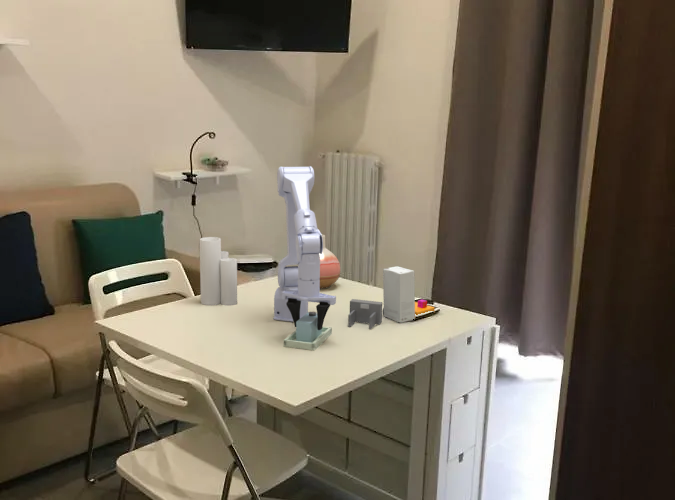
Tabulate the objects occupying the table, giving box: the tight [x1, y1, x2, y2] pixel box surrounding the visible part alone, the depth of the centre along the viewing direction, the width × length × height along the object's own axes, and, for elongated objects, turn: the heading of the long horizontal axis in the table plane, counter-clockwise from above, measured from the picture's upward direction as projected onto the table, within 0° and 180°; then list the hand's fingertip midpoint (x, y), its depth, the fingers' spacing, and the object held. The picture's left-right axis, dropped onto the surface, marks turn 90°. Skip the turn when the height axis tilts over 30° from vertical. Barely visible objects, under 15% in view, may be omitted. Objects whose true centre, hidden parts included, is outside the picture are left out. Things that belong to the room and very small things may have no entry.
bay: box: [347, 298, 383, 330], centre depth 217 cm, size 9×8×6 cm
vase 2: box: [319, 234, 342, 290], centre depth 256 cm, size 14×14×18 cm
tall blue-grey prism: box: [295, 311, 322, 343], centre depth 204 cm, size 4×9×6 cm, turn 162°
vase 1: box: [199, 236, 238, 306], centre depth 235 cm, size 11×7×20 cm, turn 93°
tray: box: [283, 326, 333, 351], centre depth 204 cm, size 8×14×2 cm, turn 162°
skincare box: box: [382, 265, 416, 323], centre depth 223 cm, size 8×6×15 cm
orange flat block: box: [415, 298, 436, 315], centre depth 230 cm, size 8×8×4 cm
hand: (308, 327), depth 203 cm, fingers open, 6 cm apart
